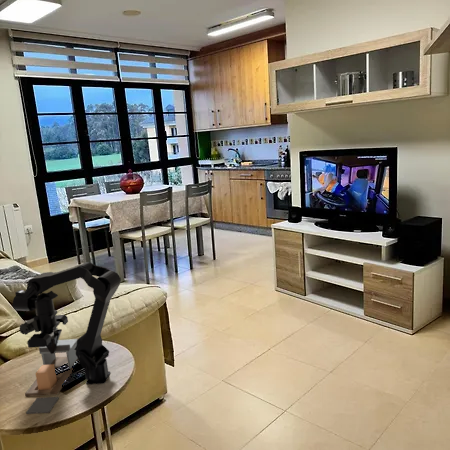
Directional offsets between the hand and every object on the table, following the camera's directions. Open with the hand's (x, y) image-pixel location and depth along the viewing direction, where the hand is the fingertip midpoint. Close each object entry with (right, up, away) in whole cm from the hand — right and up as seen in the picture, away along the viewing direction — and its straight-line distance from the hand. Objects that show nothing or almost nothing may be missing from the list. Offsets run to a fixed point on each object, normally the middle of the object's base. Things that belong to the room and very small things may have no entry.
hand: (52, 353), depth 145 cm
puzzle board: (+1, -8, +1) cm, 8 cm away
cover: (+1, -6, +7) cm, 9 cm away
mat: (+3, -12, -15) cm, 19 cm away
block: (0, -10, -5) cm, 11 cm away
